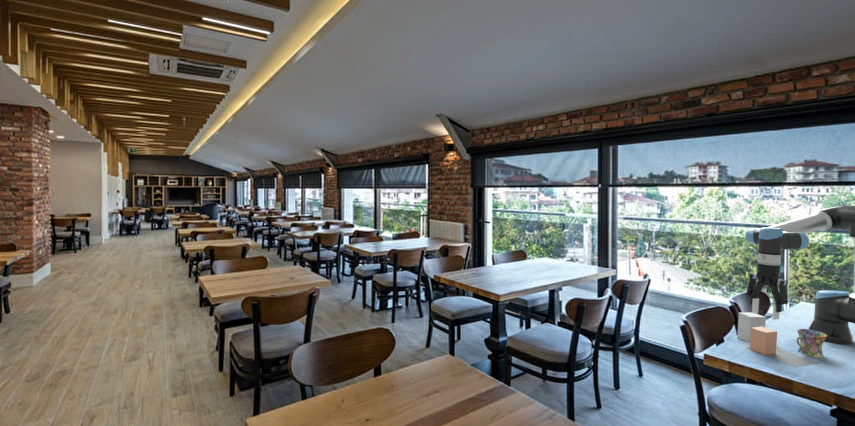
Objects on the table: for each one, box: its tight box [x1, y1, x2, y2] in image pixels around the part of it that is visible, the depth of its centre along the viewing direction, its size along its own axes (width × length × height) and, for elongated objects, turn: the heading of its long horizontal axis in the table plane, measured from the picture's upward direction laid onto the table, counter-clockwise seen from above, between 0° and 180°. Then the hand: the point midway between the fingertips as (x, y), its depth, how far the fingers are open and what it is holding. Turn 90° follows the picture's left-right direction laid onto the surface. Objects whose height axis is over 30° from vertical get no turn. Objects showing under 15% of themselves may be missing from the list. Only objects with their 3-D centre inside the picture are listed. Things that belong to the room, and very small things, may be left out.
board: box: [746, 346, 821, 368], centre depth 167 cm, size 14×19×2 cm
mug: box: [796, 328, 827, 358], centre depth 168 cm, size 12×9×11 cm
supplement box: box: [736, 311, 767, 343], centre depth 186 cm, size 7×7×13 cm
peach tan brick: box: [749, 326, 778, 356], centre depth 170 cm, size 6×6×10 cm
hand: (765, 315), depth 170 cm, fingers open, 8 cm apart
